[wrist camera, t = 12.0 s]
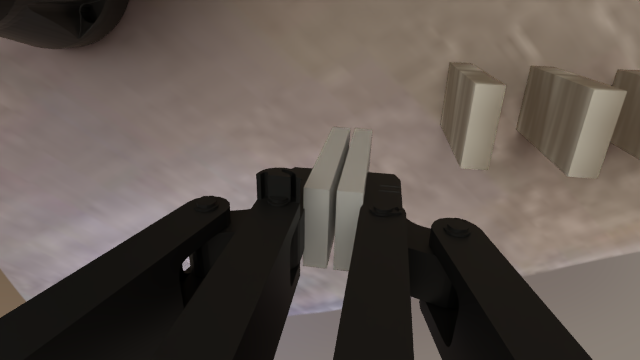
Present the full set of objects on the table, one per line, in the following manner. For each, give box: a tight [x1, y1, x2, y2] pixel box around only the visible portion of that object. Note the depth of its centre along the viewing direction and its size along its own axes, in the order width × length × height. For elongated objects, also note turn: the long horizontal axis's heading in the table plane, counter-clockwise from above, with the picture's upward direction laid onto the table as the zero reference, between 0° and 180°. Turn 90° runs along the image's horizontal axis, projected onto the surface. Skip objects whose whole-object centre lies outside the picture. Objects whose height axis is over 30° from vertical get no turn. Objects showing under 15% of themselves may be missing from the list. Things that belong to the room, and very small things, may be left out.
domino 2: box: [516, 66, 627, 179], centre depth 26 cm, size 2×5×10 cm, turn 179°
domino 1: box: [440, 62, 506, 170], centre depth 27 cm, size 2×5×10 cm, turn 178°
